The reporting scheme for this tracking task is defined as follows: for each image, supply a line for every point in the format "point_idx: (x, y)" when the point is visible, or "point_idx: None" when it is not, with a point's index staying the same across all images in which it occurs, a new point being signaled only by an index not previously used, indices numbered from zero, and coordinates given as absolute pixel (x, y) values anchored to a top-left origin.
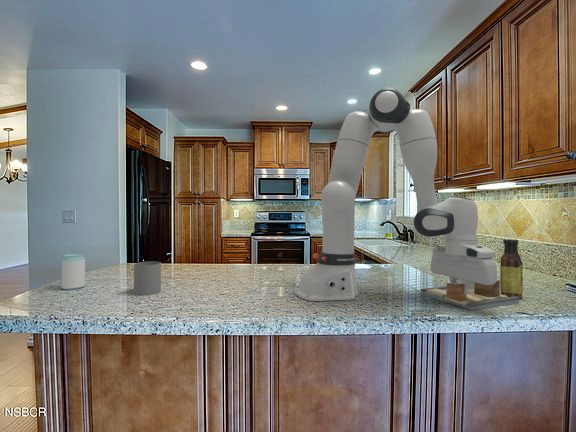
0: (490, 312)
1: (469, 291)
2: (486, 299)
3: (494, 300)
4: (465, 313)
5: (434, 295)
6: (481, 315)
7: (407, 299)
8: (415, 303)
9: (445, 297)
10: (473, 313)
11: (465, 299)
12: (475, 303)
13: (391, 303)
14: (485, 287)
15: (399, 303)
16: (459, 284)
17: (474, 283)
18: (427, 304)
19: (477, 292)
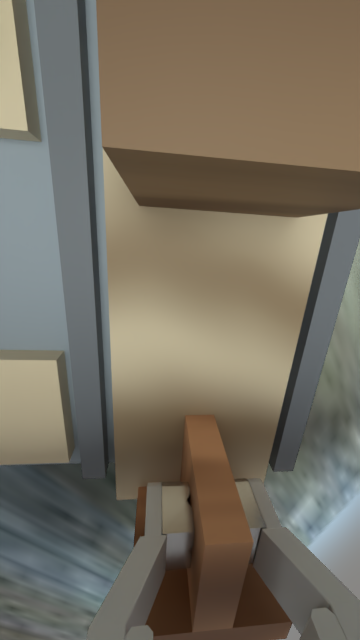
0: (344, 387)
1: (21, 116)
2: (305, 301)
3: (347, 248)
4: (280, 493)
5: (15, 464)
6: (333, 459)
7: (12, 564)
8: (84, 567)
9: (127, 494)
10: (300, 466)
11: (226, 442)
12: (297, 444)
13: (55, 629)
14: (317, 200)
15: (64, 610)
16: (216, 600)
17: (125, 180)
18: (116, 538)
19: (178, 206)
